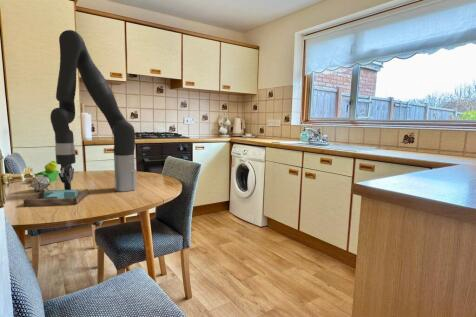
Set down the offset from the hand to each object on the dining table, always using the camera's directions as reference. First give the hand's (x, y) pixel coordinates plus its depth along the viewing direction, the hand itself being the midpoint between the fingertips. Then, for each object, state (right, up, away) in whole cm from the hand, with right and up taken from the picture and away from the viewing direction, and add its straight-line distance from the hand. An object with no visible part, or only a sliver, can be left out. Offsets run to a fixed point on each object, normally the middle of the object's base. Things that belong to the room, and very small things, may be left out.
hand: (67, 190), depth 130 cm
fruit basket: (-25, +2, +24) cm, 34 cm away
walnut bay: (+2, -3, -9) cm, 10 cm away
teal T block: (+1, -3, -9) cm, 10 cm away
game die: (-15, -1, +4) cm, 16 cm away
